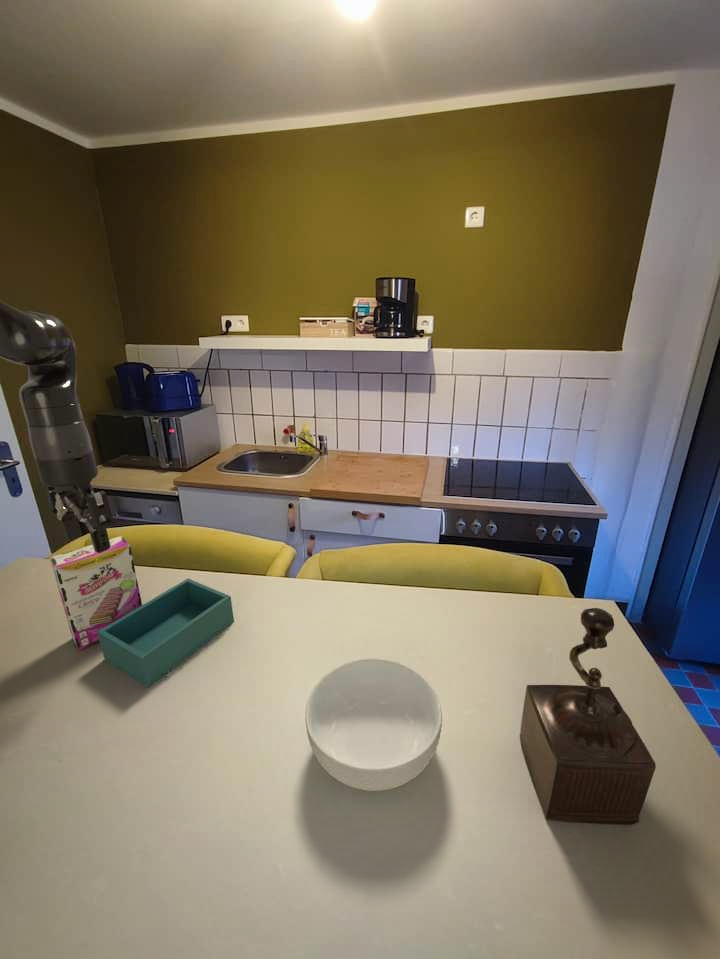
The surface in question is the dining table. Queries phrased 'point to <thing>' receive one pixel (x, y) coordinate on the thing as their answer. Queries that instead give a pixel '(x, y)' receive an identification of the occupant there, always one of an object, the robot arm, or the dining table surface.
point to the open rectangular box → (165, 630)
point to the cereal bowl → (373, 723)
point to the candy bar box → (96, 588)
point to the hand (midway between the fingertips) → (88, 544)
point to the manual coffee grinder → (585, 744)
